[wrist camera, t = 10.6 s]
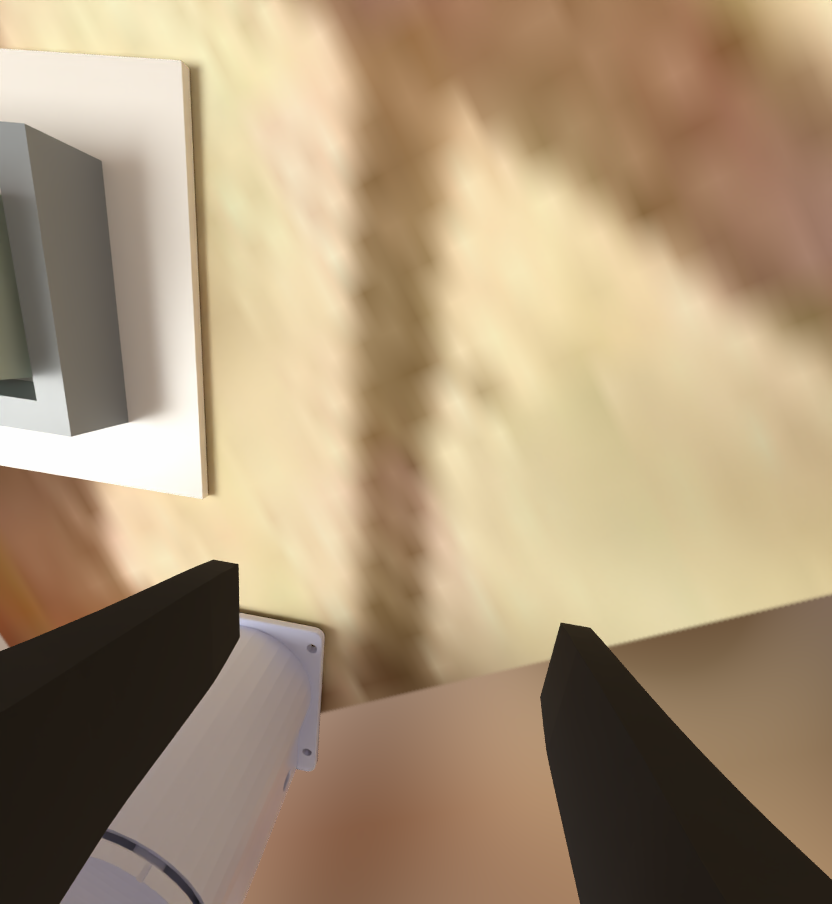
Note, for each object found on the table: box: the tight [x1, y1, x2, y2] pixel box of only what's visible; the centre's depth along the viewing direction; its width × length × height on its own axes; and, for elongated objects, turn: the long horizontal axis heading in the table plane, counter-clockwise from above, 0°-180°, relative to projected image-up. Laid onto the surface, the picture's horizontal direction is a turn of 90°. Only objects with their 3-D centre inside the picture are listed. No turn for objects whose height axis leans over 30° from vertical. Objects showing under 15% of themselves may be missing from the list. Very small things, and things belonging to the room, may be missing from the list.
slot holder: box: [0, 49, 208, 499], centre depth 15 cm, size 16×14×3 cm
